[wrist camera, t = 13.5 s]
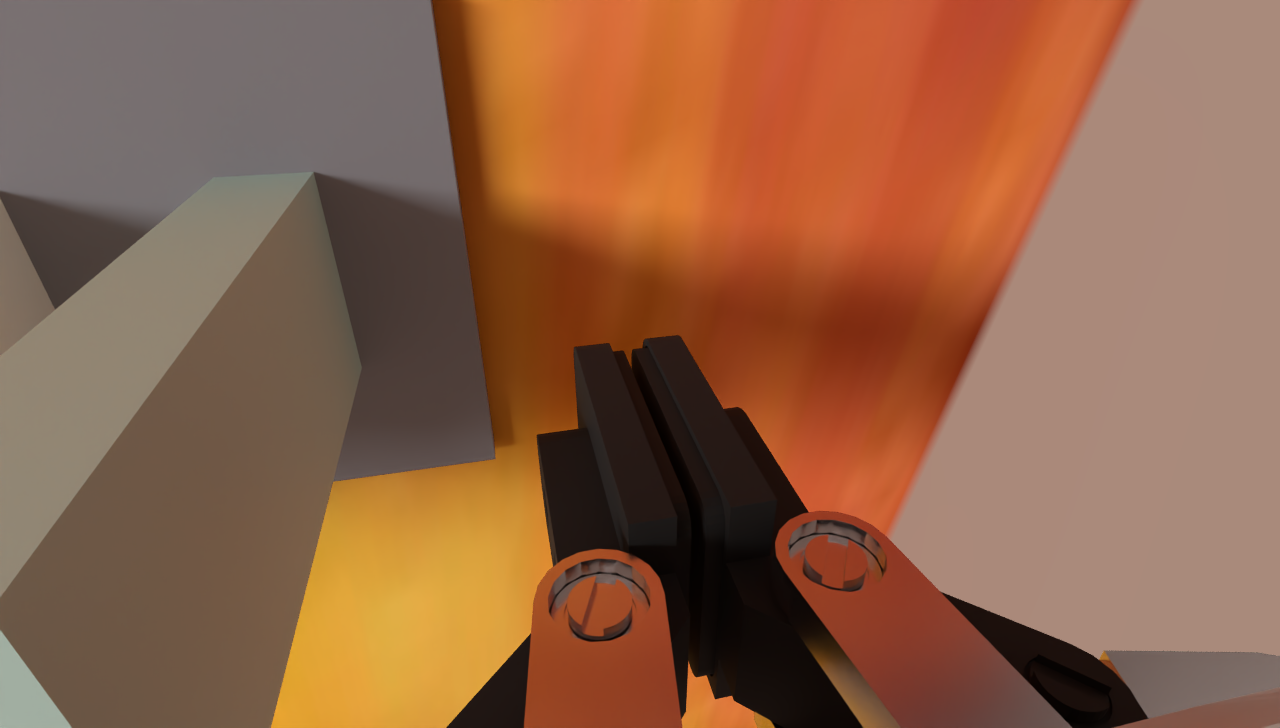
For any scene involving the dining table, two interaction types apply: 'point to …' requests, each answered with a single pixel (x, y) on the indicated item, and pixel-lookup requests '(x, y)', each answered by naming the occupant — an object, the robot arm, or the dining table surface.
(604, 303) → the dining table surface
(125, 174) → the rubber mat
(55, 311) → the domino
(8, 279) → the domino
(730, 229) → the dining table surface
